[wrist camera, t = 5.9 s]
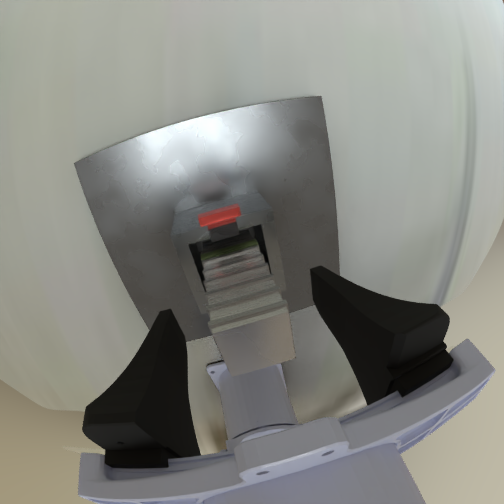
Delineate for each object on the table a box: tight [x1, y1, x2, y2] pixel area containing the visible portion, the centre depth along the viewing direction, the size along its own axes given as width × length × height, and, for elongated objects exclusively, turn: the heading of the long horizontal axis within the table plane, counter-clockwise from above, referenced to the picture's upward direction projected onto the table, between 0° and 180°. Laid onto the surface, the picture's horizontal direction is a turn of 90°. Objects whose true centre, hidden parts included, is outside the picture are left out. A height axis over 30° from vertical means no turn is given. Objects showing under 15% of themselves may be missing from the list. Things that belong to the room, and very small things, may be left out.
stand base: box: [74, 96, 340, 342], centre depth 19 cm, size 18×18×6 cm
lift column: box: [201, 229, 296, 377], centre depth 14 cm, size 3×3×8 cm
